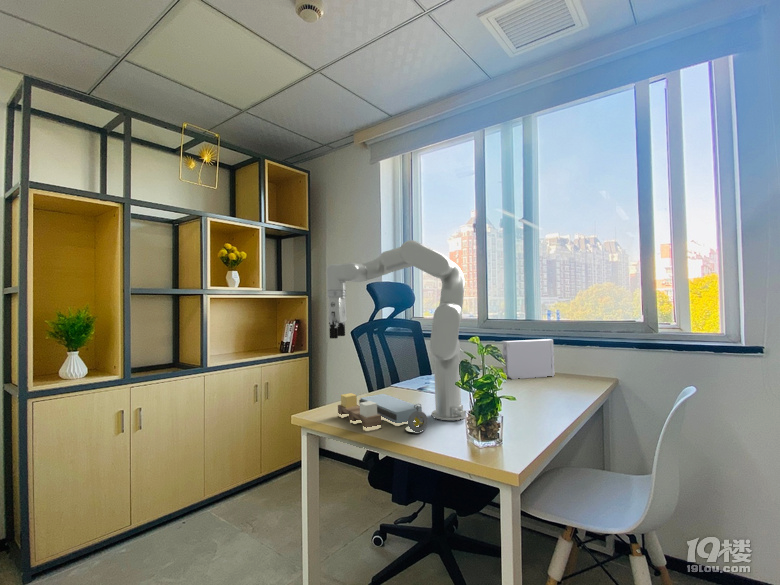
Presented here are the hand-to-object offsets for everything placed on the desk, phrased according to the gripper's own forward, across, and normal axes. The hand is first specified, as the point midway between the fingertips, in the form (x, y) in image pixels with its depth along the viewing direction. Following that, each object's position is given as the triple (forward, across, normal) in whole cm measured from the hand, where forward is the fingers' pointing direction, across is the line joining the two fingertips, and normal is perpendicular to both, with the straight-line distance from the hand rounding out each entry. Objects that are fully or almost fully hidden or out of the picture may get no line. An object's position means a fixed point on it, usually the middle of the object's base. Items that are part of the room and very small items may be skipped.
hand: (337, 337), depth 155 cm
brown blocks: (+30, -13, -12) cm, 35 cm away
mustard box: (+25, -8, -6) cm, 27 cm away
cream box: (+25, -19, -17) cm, 36 cm away
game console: (+30, +70, -86) cm, 115 cm away
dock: (+30, -4, -21) cm, 37 cm away
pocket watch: (+30, -22, -33) cm, 50 cm away
